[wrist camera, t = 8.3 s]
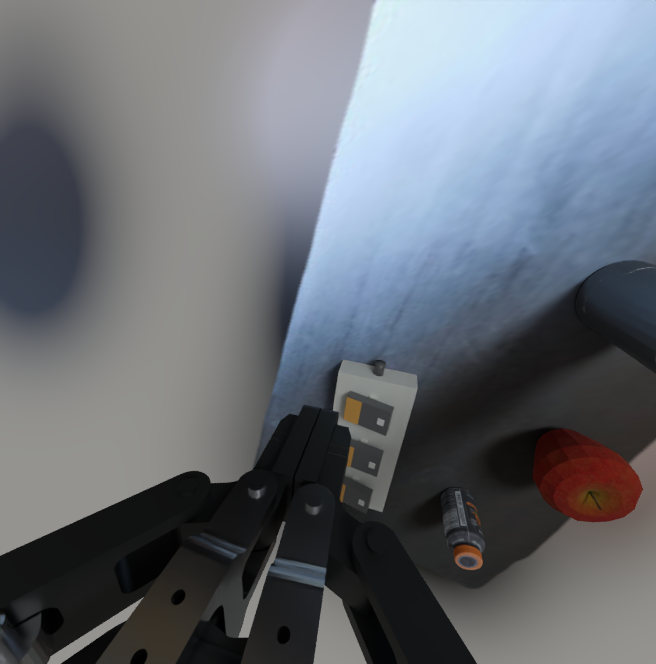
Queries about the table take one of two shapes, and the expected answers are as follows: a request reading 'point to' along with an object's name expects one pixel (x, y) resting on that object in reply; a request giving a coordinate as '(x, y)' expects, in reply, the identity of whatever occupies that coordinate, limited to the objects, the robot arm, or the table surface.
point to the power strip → (385, 389)
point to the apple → (584, 477)
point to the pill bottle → (462, 528)
